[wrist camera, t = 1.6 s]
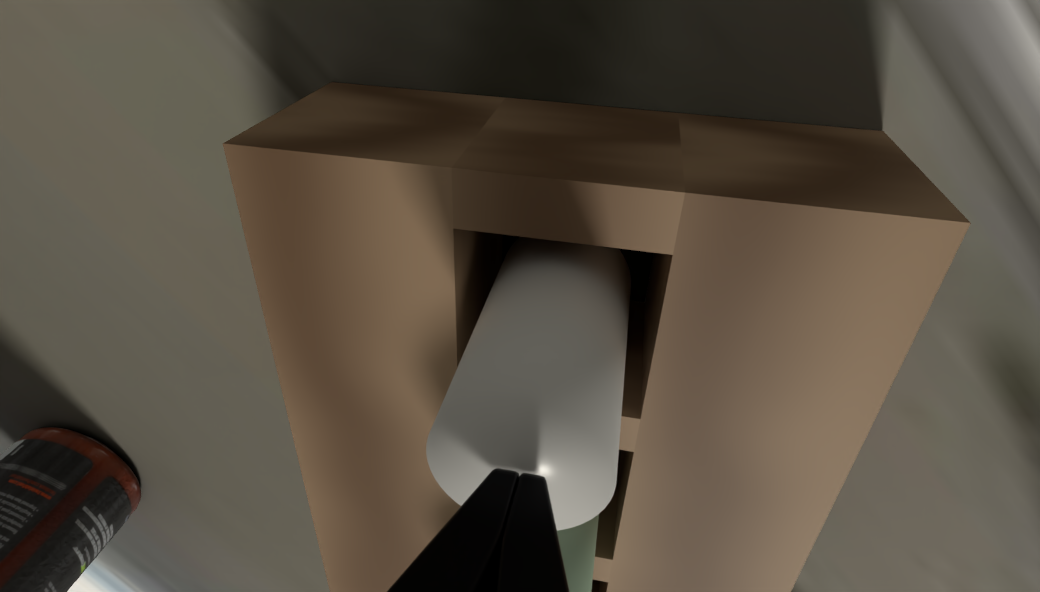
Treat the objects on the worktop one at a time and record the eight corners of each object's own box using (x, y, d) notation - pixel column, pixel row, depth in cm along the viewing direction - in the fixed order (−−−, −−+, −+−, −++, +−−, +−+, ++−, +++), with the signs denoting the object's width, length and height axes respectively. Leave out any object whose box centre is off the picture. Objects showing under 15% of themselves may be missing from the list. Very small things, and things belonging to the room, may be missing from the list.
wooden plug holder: (882, 131, 15) (971, 222, 10) (721, 573, 25) (733, 709, 20) (331, 82, 17) (223, 143, 12) (387, 510, 26) (337, 623, 22)
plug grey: (640, 231, 14) (629, 413, 9) (622, 342, 16) (605, 546, 11) (502, 215, 14) (421, 381, 9) (500, 325, 16) (430, 513, 11)
